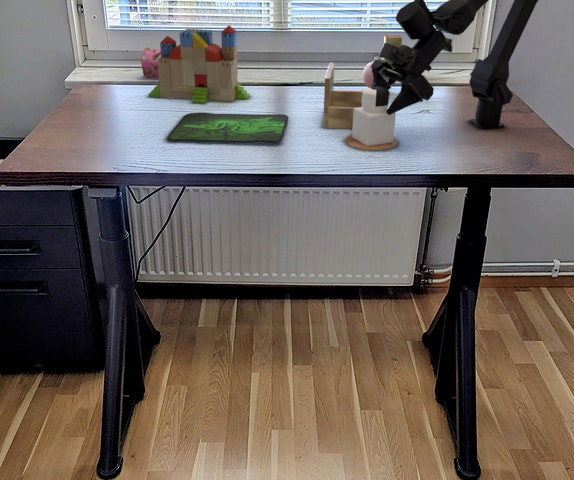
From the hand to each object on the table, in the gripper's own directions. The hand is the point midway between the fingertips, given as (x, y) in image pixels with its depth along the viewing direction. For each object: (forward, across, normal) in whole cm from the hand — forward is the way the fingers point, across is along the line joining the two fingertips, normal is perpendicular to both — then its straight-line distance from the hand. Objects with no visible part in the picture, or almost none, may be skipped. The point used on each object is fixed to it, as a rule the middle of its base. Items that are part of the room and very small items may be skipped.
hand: (376, 108), depth 145 cm
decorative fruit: (-11, -38, +23) cm, 46 cm away
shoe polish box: (-22, -54, +33) cm, 67 cm away
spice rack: (+3, -19, +8) cm, 21 cm away
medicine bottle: (+6, 0, +5) cm, 8 cm away
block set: (+23, -54, -12) cm, 60 cm away
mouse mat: (+25, -22, -14) cm, 36 cm away
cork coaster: (+6, 0, +5) cm, 8 cm away
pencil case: (+23, -78, -12) cm, 83 cm away
